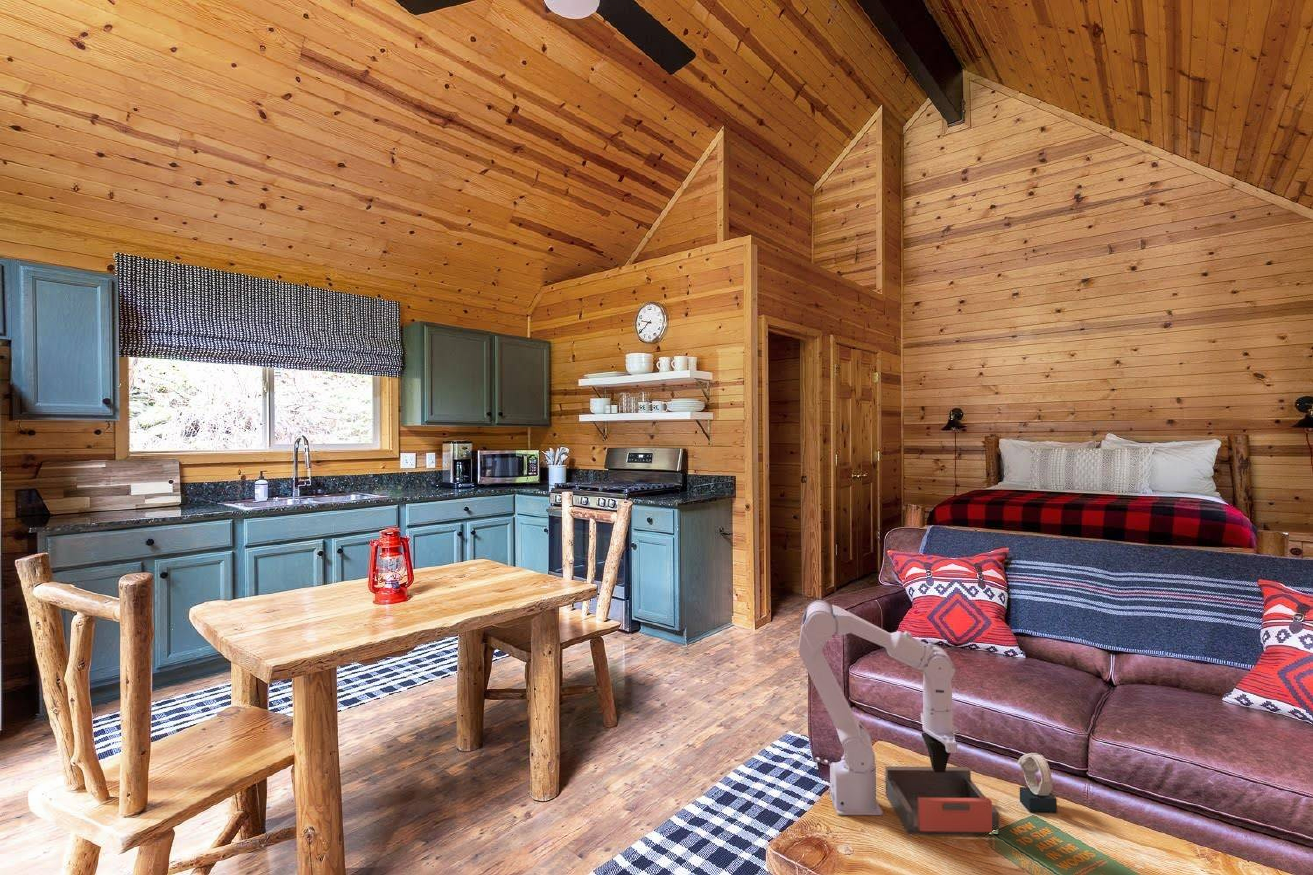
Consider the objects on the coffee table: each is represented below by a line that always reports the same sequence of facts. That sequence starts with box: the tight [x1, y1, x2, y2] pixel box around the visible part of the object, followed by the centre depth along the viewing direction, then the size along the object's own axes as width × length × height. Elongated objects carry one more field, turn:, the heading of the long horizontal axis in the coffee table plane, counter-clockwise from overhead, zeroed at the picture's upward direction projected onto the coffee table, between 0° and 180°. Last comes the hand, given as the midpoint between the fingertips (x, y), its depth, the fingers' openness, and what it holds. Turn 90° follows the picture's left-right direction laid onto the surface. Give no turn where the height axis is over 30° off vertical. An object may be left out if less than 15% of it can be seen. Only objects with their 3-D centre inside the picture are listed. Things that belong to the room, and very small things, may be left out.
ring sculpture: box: [1017, 752, 1058, 814], centre depth 139 cm, size 6×8×11 cm
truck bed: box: [884, 765, 1000, 836], centre depth 137 cm, size 18×14×6 cm
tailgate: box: [918, 797, 993, 832], centre depth 129 cm, size 14×2×6 cm, turn 88°
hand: (938, 770), depth 137 cm, fingers closed
